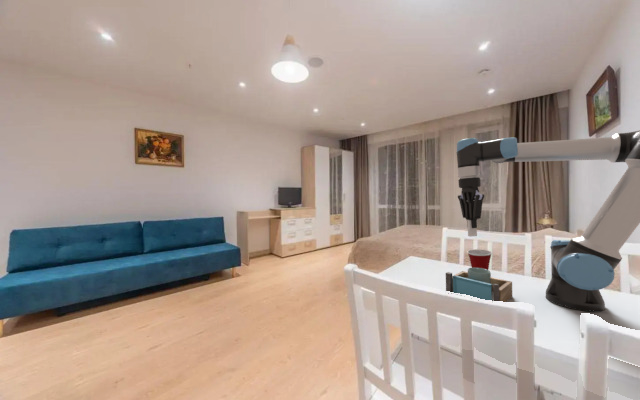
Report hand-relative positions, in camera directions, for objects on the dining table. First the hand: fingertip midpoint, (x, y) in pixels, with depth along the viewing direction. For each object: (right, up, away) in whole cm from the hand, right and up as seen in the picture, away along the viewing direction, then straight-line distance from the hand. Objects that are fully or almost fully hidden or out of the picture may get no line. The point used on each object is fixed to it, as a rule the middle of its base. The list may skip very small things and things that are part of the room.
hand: (472, 235), depth 98 cm
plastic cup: (+19, -24, +25) cm, 39 cm away
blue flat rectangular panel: (-2, -24, -2) cm, 24 cm away
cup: (+4, -25, +2) cm, 25 cm away
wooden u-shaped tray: (+4, -24, +2) cm, 25 cm away
